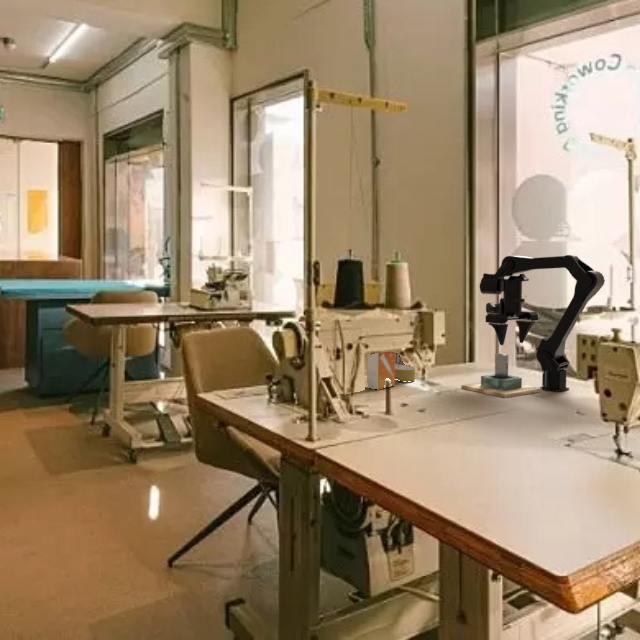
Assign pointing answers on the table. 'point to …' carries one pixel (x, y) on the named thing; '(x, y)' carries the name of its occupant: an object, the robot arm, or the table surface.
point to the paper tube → (403, 370)
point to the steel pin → (501, 366)
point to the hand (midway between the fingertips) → (511, 343)
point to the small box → (380, 369)
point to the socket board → (501, 392)
